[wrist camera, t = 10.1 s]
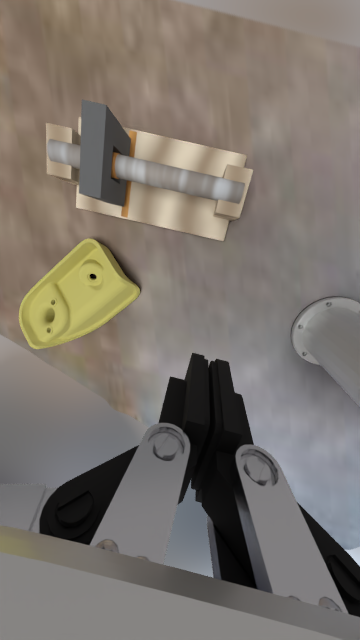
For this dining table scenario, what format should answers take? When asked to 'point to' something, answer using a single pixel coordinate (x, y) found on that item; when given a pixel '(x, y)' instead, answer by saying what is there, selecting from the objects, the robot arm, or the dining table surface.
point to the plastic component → (75, 297)
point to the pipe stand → (161, 181)
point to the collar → (101, 153)
